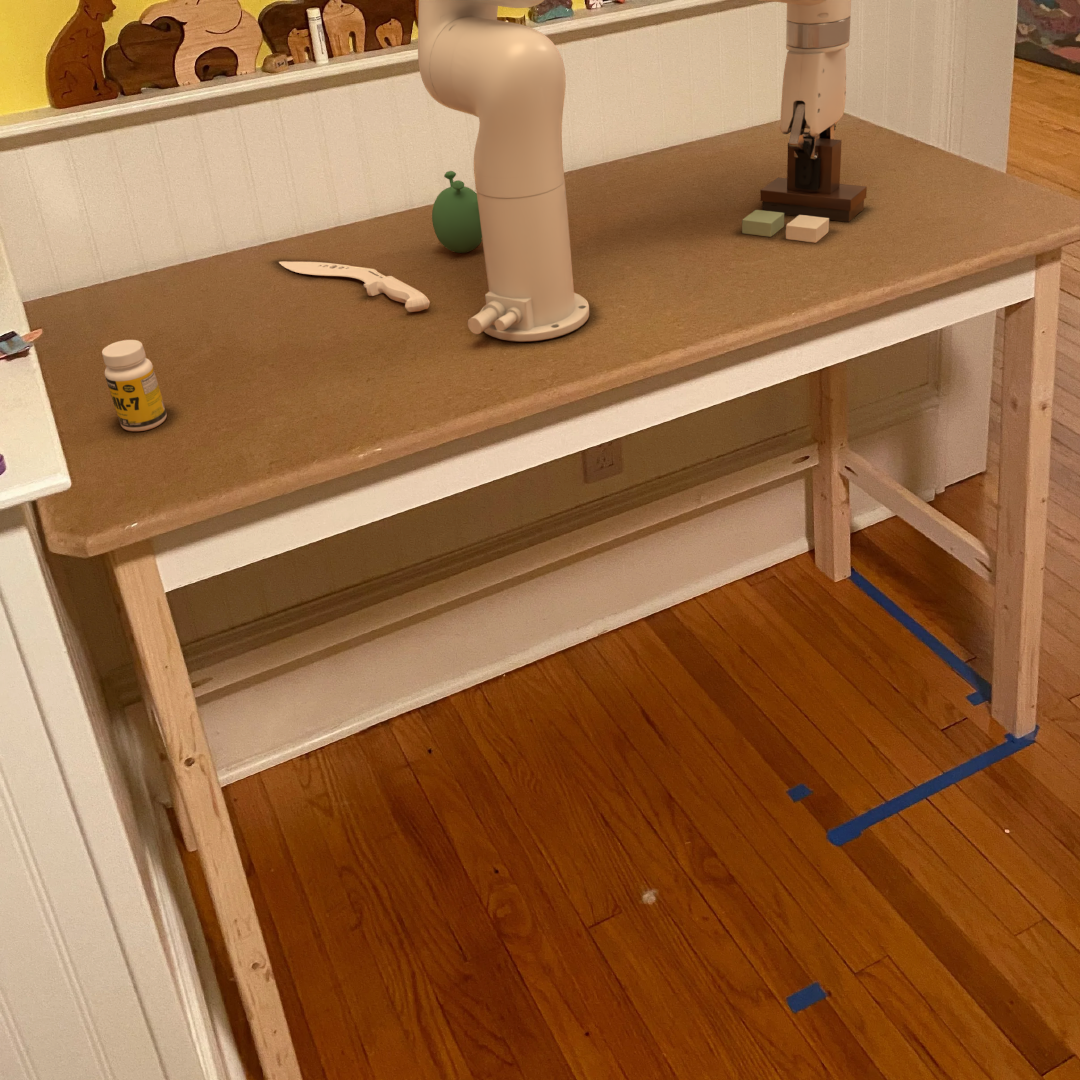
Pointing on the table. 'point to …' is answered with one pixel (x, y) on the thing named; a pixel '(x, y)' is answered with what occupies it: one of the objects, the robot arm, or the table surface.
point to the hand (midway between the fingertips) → (813, 182)
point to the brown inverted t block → (822, 202)
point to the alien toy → (457, 217)
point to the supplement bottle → (133, 386)
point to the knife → (366, 281)
